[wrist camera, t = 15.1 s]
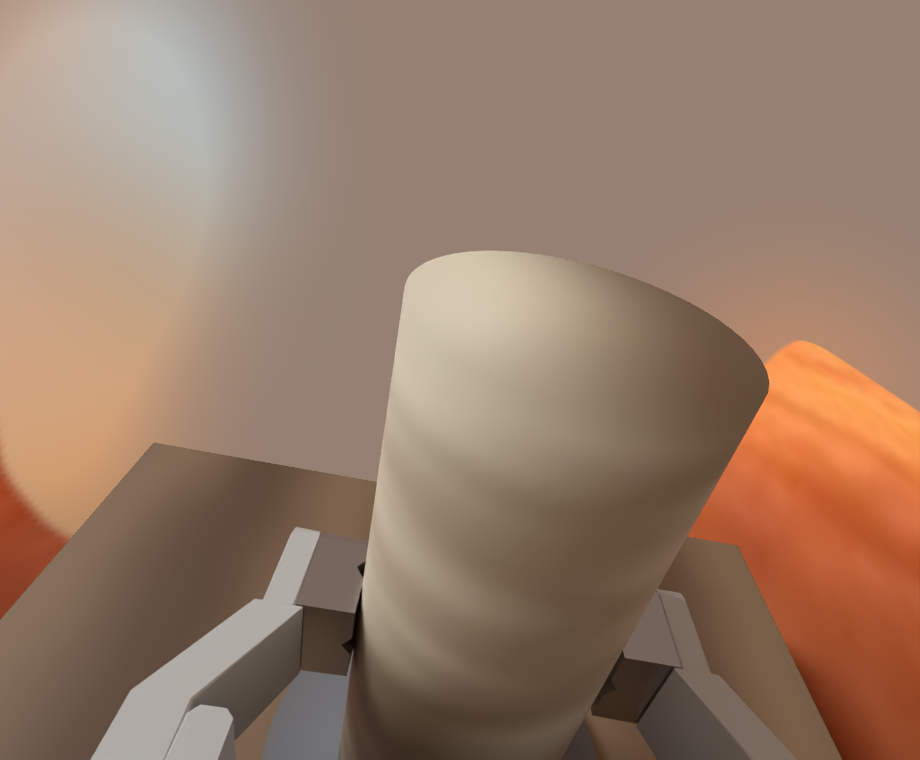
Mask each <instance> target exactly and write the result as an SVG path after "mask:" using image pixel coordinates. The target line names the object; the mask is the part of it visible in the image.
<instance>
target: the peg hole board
mask: <svg viewBox="0 0 920 760" xmlns="http://www.w3.org/2000/svg"><path fill="white" fill-rule="evenodd" d="M376 486H377V482H373V481H367V480H361V479H356V478H350V477H345V476H339V475H334V474H328V473H322V472H317V471H311V470H305V469H299V468H294V467H288V466H282V465H277V464H271V463H266V462H260V461H254V460H249V459H243V458H237V457H232V456H226V455H220V454H214V453H209V452H203V451H197V450H192V449H186V448H180V447H175V446H169V445H163V444H158V443H153V444H152V445H151V446H150V448H149V449H148V450H147V451H146V452H145V453H144V455H143V456H142V457H141V458H140V459H139V460H138V462H137V463H136V464H135V465H134V466H133V467H132V469H131V470H130V471H129V472H128V473H127V474H126V475H125V477H124V478H123V479H122V480H121V481H120V482H119V484H118V485H117V486H116V487H115V488H114V489H113V490H112V492H111V493H110V494H109V495H108V496H107V498H105V500H104V501H103V502H102V503H101V504H100V506H99V507H98V508H97V509H96V510H95V511H94V512H93V514H92V515H91V516H90V517H89V518H88V519H87V520H86V522H85V523H84V524H83V525H82V526H81V527H80V529H79V530H78V531H77V532H76V533H75V534H74V535H73V537H72V538H71V539H70V540H69V541H68V542H67V544H66V545H65V546H64V547H63V548H62V549H61V551H60V552H59V553H58V554H57V555H56V556H55V557H54V559H53V560H52V561H51V562H50V563H49V564H48V566H47V567H46V568H45V569H44V570H43V571H42V572H41V574H40V575H39V576H38V577H37V578H36V579H35V581H34V582H33V583H32V584H31V585H30V586H29V588H28V589H27V590H26V591H25V592H24V593H23V594H22V596H21V597H20V598H19V599H18V600H17V601H16V603H15V604H14V605H13V606H12V607H11V608H10V609H9V611H8V612H7V613H6V614H5V615H4V616H3V618H2V619H1V620H0V760H91V758H92V756H93V755H94V753H95V751H96V749H97V748H98V746H99V744H100V742H101V741H102V739H103V737H104V735H105V734H106V732H107V730H108V729H109V727H110V725H111V723H112V722H113V720H114V718H115V716H116V715H117V713H118V711H119V709H120V708H121V706H122V704H123V702H124V701H125V699H126V697H127V695H128V694H129V692H130V690H132V689H133V688H134V687H136V686H137V685H138V684H140V683H141V682H142V681H144V680H145V679H146V678H148V677H149V676H151V675H152V674H153V673H155V672H156V671H157V670H159V669H160V668H161V667H163V666H164V665H165V664H167V663H168V662H170V661H171V660H172V659H174V658H175V657H176V656H178V655H179V654H180V653H182V652H183V651H184V650H186V649H187V648H189V647H190V646H191V645H193V644H194V643H195V642H197V641H198V640H199V639H201V638H202V637H203V636H205V635H206V634H207V633H209V632H210V631H212V630H213V629H214V628H216V627H217V626H218V625H220V624H221V623H222V622H224V621H225V620H226V619H228V618H229V617H231V616H232V615H233V614H235V613H236V612H237V611H239V610H240V609H241V608H243V607H244V606H245V605H247V604H248V603H250V602H251V601H252V600H254V599H261V600H263V598H264V596H265V594H266V591H267V589H268V587H269V584H270V582H271V580H272V577H273V575H274V572H275V570H276V568H277V565H278V563H279V561H280V558H281V556H282V554H283V551H284V549H285V547H286V544H287V542H288V539H289V537H290V535H291V533H292V532H293V530H294V529H295V528H296V527H300V528H305V529H310V530H316V531H321V532H327V533H332V534H337V535H342V536H348V537H353V538H358V539H363V540H368V541H369V535H370V528H371V521H372V514H373V507H374V500H375V493H376ZM658 589H660V590H666V591H672V592H678V593H681V594H682V596H683V597H684V598H685V601H686V603H687V606H688V609H689V612H690V615H691V618H692V620H693V623H694V626H695V629H696V632H697V635H698V637H699V640H700V643H701V646H702V649H703V652H704V654H705V657H706V660H707V663H708V666H709V669H710V671H711V674H716V675H719V676H720V677H721V678H722V679H723V680H724V681H725V682H726V683H727V684H728V685H729V686H730V688H731V689H732V690H733V691H734V692H735V693H736V694H737V695H738V696H739V697H740V698H741V699H742V700H743V702H744V703H745V704H746V705H747V706H748V707H749V708H750V709H751V710H752V711H753V712H754V713H755V715H756V716H757V717H758V718H759V719H760V720H761V721H762V722H763V723H764V724H765V725H766V726H767V727H768V729H769V730H770V731H771V732H772V733H773V734H774V735H775V736H776V737H777V738H778V739H779V740H780V742H781V743H782V744H783V745H784V746H785V747H786V748H787V749H788V750H789V751H790V752H791V753H792V754H793V756H794V757H795V758H796V759H797V760H842V758H841V756H840V754H839V752H838V750H837V748H836V746H835V744H834V742H833V740H832V738H831V736H830V734H829V732H828V730H827V727H826V725H825V723H824V721H823V719H822V717H821V715H820V713H819V711H818V709H817V707H816V705H815V703H814V701H813V699H812V697H811V695H810V693H809V691H808V689H807V687H806V685H805V682H804V680H803V678H802V676H801V674H800V672H799V670H798V668H797V666H796V664H795V662H794V660H793V658H792V656H791V654H790V652H789V650H788V648H787V646H786V644H785V642H784V640H783V638H782V635H781V633H780V631H779V629H778V627H777V625H776V623H775V621H774V619H773V617H772V615H771V613H770V611H769V609H768V607H767V605H766V603H765V601H764V599H763V597H762V595H761V593H760V590H759V588H758V586H757V584H756V582H755V580H754V578H753V576H752V574H751V572H750V570H749V568H748V566H747V564H746V562H745V560H744V558H743V556H742V554H741V552H740V550H739V548H738V546H736V545H730V544H725V543H719V542H713V541H708V540H702V539H696V538H691V537H686V539H685V541H684V543H683V545H682V546H681V548H680V550H679V552H678V553H677V555H676V557H675V559H674V561H673V562H672V564H671V566H670V568H669V569H668V571H667V573H666V575H665V576H664V578H663V580H662V582H661V584H660V585H659V587H658ZM300 671H301V670H300ZM293 681H294V680H293ZM293 681H292V682H293ZM292 682H291V683H290V684H289V685H288V686H287V687H286V688H285V689H284V690H283V691H282V692H281V693H280V694H279V695H278V696H277V697H276V698H275V699H274V701H273V702H272V703H271V704H270V705H269V706H268V707H267V708H266V709H265V710H264V711H263V712H262V713H261V714H260V715H259V716H258V717H257V718H256V719H255V720H254V721H253V722H252V724H251V725H250V726H249V727H248V728H247V729H246V730H245V731H244V732H243V733H242V734H241V735H240V736H239V737H238V738H237V739H236V740H235V760H262V754H263V751H264V747H265V743H266V739H267V736H268V732H269V729H270V726H271V724H272V721H273V719H274V716H275V714H276V711H277V709H278V707H279V705H280V703H281V701H282V699H283V697H284V695H285V694H286V692H287V690H288V688H289V686H290V685H291V684H292ZM584 722H585V724H586V727H587V729H588V731H589V734H590V736H591V740H592V743H593V746H594V749H595V753H596V756H597V760H657V759H656V757H655V756H654V754H653V752H652V751H651V749H650V748H649V746H648V745H647V743H646V741H645V740H644V738H643V737H642V735H641V734H640V732H639V730H638V729H637V727H636V725H637V724H635V723H629V722H624V721H619V720H614V719H608V718H603V717H598V716H592V713H591V708H590V709H589V711H588V713H587V715H586V716H585V718H584Z"/></svg>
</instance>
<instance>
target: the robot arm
mask: <svg viewBox="0 0 920 760" xmlns="http://www.w3.org/2000/svg"><path fill="white" fill-rule="evenodd" d="M368 543H369V541H368V540H363V539H358V538H353V537H348V536H342V535H337V534H332V533H327V532H321V531H316V530H310V529H305V528H300V527H296V528H295V529H294V530H293V532H292V533H291V535H290V537H289V539H288V542H287V544H286V547H285V549H284V551H283V554H282V556H281V558H280V561H279V563H278V565H277V568H276V570H275V572H274V575H273V577H272V580H271V582H270V584H269V587H268V589H267V591H266V594H265V596H264V598H263V600H261V599H254V600H252V601H251V602H250V603H248V604H247V605H245V606H244V607H243V608H241V609H240V610H239V611H237V612H236V613H235V614H233V615H232V616H231V617H229V618H228V619H226V620H225V621H224V622H222V623H221V624H220V625H218V626H217V627H216V628H214V629H213V630H212V631H210V632H209V633H207V634H206V635H205V636H203V637H202V638H201V639H199V640H198V641H197V642H195V643H194V644H193V645H191V646H190V647H189V648H187V649H186V650H184V651H183V652H182V653H180V654H179V655H178V656H176V657H175V658H174V659H172V660H171V661H170V662H168V663H167V664H165V665H164V666H163V667H161V668H160V669H159V670H157V671H156V672H155V673H153V674H152V675H151V676H149V677H148V678H146V679H145V680H144V681H142V682H141V683H140V684H138V685H137V686H136V687H134V688H133V689H132V690H130V692H129V694H128V695H127V697H126V699H125V701H124V702H123V704H122V706H121V708H120V709H119V711H118V713H117V715H116V716H115V718H114V720H113V722H112V723H111V725H110V727H109V729H108V730H107V732H106V734H105V735H104V737H103V739H102V741H101V742H100V744H99V746H98V748H97V749H96V751H95V753H94V755H93V756H92V758H91V760H235V740H236V739H237V738H238V737H239V736H240V735H241V734H242V733H243V732H244V731H245V730H246V729H247V728H248V727H249V726H250V725H251V724H252V722H253V721H254V720H255V719H256V718H257V717H258V716H259V715H260V714H261V713H262V712H263V711H264V710H265V709H266V708H267V707H268V706H269V705H270V704H271V703H272V702H273V701H274V699H275V698H276V697H277V696H278V695H279V694H280V693H281V692H282V691H283V690H284V689H285V688H286V687H287V686H288V685H289V684H290V683H291V682H292V681H293V680H294V679H295V678H296V676H297V675H298V674H299V672H300V670H302V671H310V672H318V673H325V674H333V675H341V676H347V673H348V668H349V664H350V660H351V656H352V652H353V648H354V642H355V635H356V628H357V620H358V613H359V606H360V599H361V592H362V585H363V578H364V571H365V564H366V557H367V550H368ZM591 713H592V716H598V717H603V718H608V719H614V720H619V721H624V722H629V723H635V724H637V725H636V727H637V729H638V730H639V732H640V734H641V735H642V737H643V738H644V740H645V741H646V743H647V745H648V746H649V748H650V749H651V751H652V752H653V754H654V756H655V757H656V759H657V760H797V759H796V758H795V757H794V756H793V754H792V753H791V752H790V751H789V750H788V749H787V748H786V747H785V746H784V745H783V744H782V743H781V742H780V740H779V739H778V738H777V737H776V736H775V735H774V734H773V733H772V732H771V731H770V730H769V729H768V727H767V726H766V725H765V724H764V723H763V722H762V721H761V720H760V719H759V718H758V717H757V716H756V715H755V713H754V712H753V711H752V710H751V709H750V708H749V707H748V706H747V705H746V704H745V703H744V702H743V700H742V699H741V698H740V697H739V696H738V695H737V694H736V693H735V692H734V691H733V690H732V689H731V688H730V686H729V685H728V684H727V683H726V682H725V681H724V680H723V679H722V678H721V677H720V676H719V675H716V674H711V671H710V669H709V666H708V663H707V660H706V657H705V654H704V652H703V649H702V646H701V643H700V640H699V637H698V635H697V632H696V629H695V626H694V623H693V620H692V618H691V615H690V612H689V609H688V606H687V603H686V601H685V598H684V597H683V596H682V594H681V593H678V592H672V591H666V590H660V589H657V591H656V592H655V594H654V596H653V598H652V599H651V601H650V603H649V605H648V607H647V608H646V610H645V612H644V614H643V615H642V617H641V619H640V621H639V623H638V624H637V626H636V628H635V630H634V631H633V633H632V635H631V637H630V638H629V640H628V642H627V644H626V646H625V647H624V649H623V651H622V653H621V654H620V656H619V658H618V660H617V661H616V663H615V665H614V667H613V669H612V670H611V672H610V674H609V676H608V677H607V679H606V681H605V683H604V685H603V686H602V688H601V690H600V692H599V693H598V695H597V697H596V699H595V700H594V702H593V704H592V706H591Z"/></svg>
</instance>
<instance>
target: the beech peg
mask: <svg viewBox="0 0 920 760" xmlns="http://www.w3.org/2000/svg"><path fill="white" fill-rule="evenodd" d="M768 388H769V379H768V375H767V371H766V369H765V367H764V365H763V363H762V361H761V360H760V358H759V357H758V356H757V354H756V353H755V352H754V350H753V349H752V348H751V347H750V346H749V345H748V344H747V343H746V342H745V341H744V340H743V339H742V338H741V337H740V336H739V335H737V334H736V333H735V332H734V331H733V330H732V329H730V328H729V327H727V326H726V325H725V324H723V323H722V322H721V321H719V320H718V319H716V318H715V317H713V316H711V315H710V314H708V313H707V312H705V311H703V310H702V309H700V308H698V307H696V306H694V305H692V304H691V303H689V302H687V301H685V300H683V299H681V298H679V297H677V296H675V295H673V294H671V293H669V292H666V291H664V290H662V289H659V288H657V287H655V286H652V285H650V284H647V283H645V282H642V281H640V280H637V279H634V278H631V277H628V276H626V275H623V274H620V273H617V272H614V271H610V270H607V269H604V268H600V267H597V266H593V265H589V264H585V263H581V262H577V261H572V260H568V259H563V258H557V257H552V256H546V255H539V254H532V253H523V252H511V251H473V252H462V253H456V254H450V255H446V256H442V257H439V258H436V259H433V260H431V261H428V262H426V263H424V264H423V265H421V266H419V267H418V268H416V269H415V270H414V271H413V272H412V273H411V274H410V276H409V278H408V279H407V281H406V284H405V289H404V295H403V302H402V310H401V317H400V323H399V331H398V338H397V345H396V352H395V360H394V366H393V374H392V380H391V387H390V395H389V402H388V408H387V415H386V423H385V429H384V437H383V444H382V451H381V458H380V465H379V472H378V479H377V486H376V493H375V500H374V507H373V514H372V521H371V528H370V535H369V543H368V550H367V557H366V564H365V571H364V578H363V585H362V592H361V599H360V606H359V613H358V620H357V628H356V635H355V642H354V648H353V652H352V656H351V660H350V664H349V668H348V673H347V676H341V675H333V674H325V673H318V672H310V671H302V670H301V671H300V672H299V674H298V675H297V676H296V678H295V679H294V681H293V682H292V684H291V685H290V686H289V688H288V690H287V692H286V694H285V695H284V697H283V699H282V701H281V703H280V705H279V707H278V709H277V711H276V714H275V716H274V719H273V721H272V724H271V726H270V729H269V732H268V736H267V739H266V743H265V747H264V751H263V754H262V760H597V756H596V753H595V749H594V746H593V743H592V740H591V736H590V734H589V731H588V729H587V727H586V724H585V722H584V718H585V716H586V715H587V713H588V711H589V709H590V708H591V706H592V704H593V702H594V700H595V699H596V697H597V695H598V693H599V692H600V690H601V688H602V686H603V685H604V683H605V681H606V679H607V677H608V676H609V674H610V672H611V670H612V669H613V667H614V665H615V663H616V661H617V660H618V658H619V656H620V654H621V653H622V651H623V649H624V647H625V646H626V644H627V642H628V640H629V638H630V637H631V635H632V633H633V631H634V630H635V628H636V626H637V624H638V623H639V621H640V619H641V617H642V615H643V614H644V612H645V610H646V608H647V607H648V605H649V603H650V601H651V599H652V598H653V596H654V594H655V592H656V591H657V589H658V587H659V585H660V584H661V582H662V580H663V578H664V576H665V575H666V573H667V571H668V569H669V568H670V566H671V564H672V562H673V561H674V559H675V557H676V555H677V553H678V552H679V550H680V548H681V546H682V545H683V543H684V541H685V539H686V537H687V536H688V534H689V532H690V530H691V529H692V527H693V525H694V523H695V522H696V520H697V518H698V516H699V514H700V513H701V511H702V509H703V507H704V506H705V504H706V502H707V500H708V499H709V497H710V495H711V493H712V491H713V490H714V488H715V486H716V484H717V483H718V481H719V479H720V477H721V475H722V474H723V472H724V470H725V468H726V467H727V465H728V463H729V461H730V460H731V458H732V456H733V454H734V452H735V451H736V449H737V447H738V445H739V444H740V442H741V440H742V438H743V437H744V435H745V433H746V431H747V429H748V428H749V426H750V424H751V422H752V421H753V419H754V417H755V415H756V413H757V412H758V410H759V408H760V406H761V405H762V403H763V401H764V399H765V397H766V395H767V393H768Z"/></svg>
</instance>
